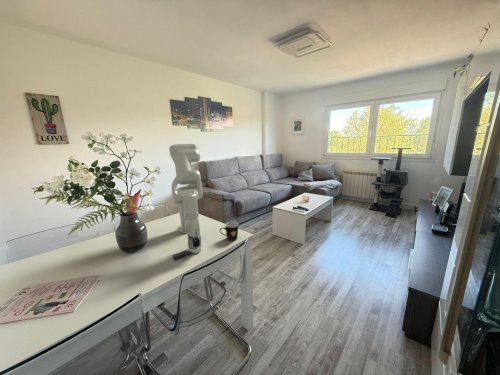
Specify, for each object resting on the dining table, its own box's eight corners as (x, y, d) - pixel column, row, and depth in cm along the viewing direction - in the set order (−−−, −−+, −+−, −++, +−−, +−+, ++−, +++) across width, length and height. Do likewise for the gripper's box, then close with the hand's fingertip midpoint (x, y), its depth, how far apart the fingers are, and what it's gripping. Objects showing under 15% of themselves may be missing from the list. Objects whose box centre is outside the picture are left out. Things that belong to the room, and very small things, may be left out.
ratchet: (171, 256, 114) (170, 245, 112) (197, 246, 124) (196, 236, 122) (176, 262, 109) (175, 250, 107) (203, 251, 119) (202, 240, 117)
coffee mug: (239, 235, 137) (239, 221, 134) (237, 242, 129) (237, 227, 126) (222, 235, 138) (222, 221, 136) (219, 241, 130) (218, 227, 127)
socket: (187, 245, 119) (187, 235, 118) (196, 243, 122) (196, 233, 121) (192, 249, 115) (192, 239, 114) (200, 246, 118) (201, 237, 117)
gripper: (178, 212, 117) (181, 240, 122) (192, 221, 105) (195, 252, 110) (190, 209, 122) (193, 236, 127) (205, 217, 110) (207, 247, 114)
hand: (194, 243), depth 118 cm, fingers open, 6 cm apart
